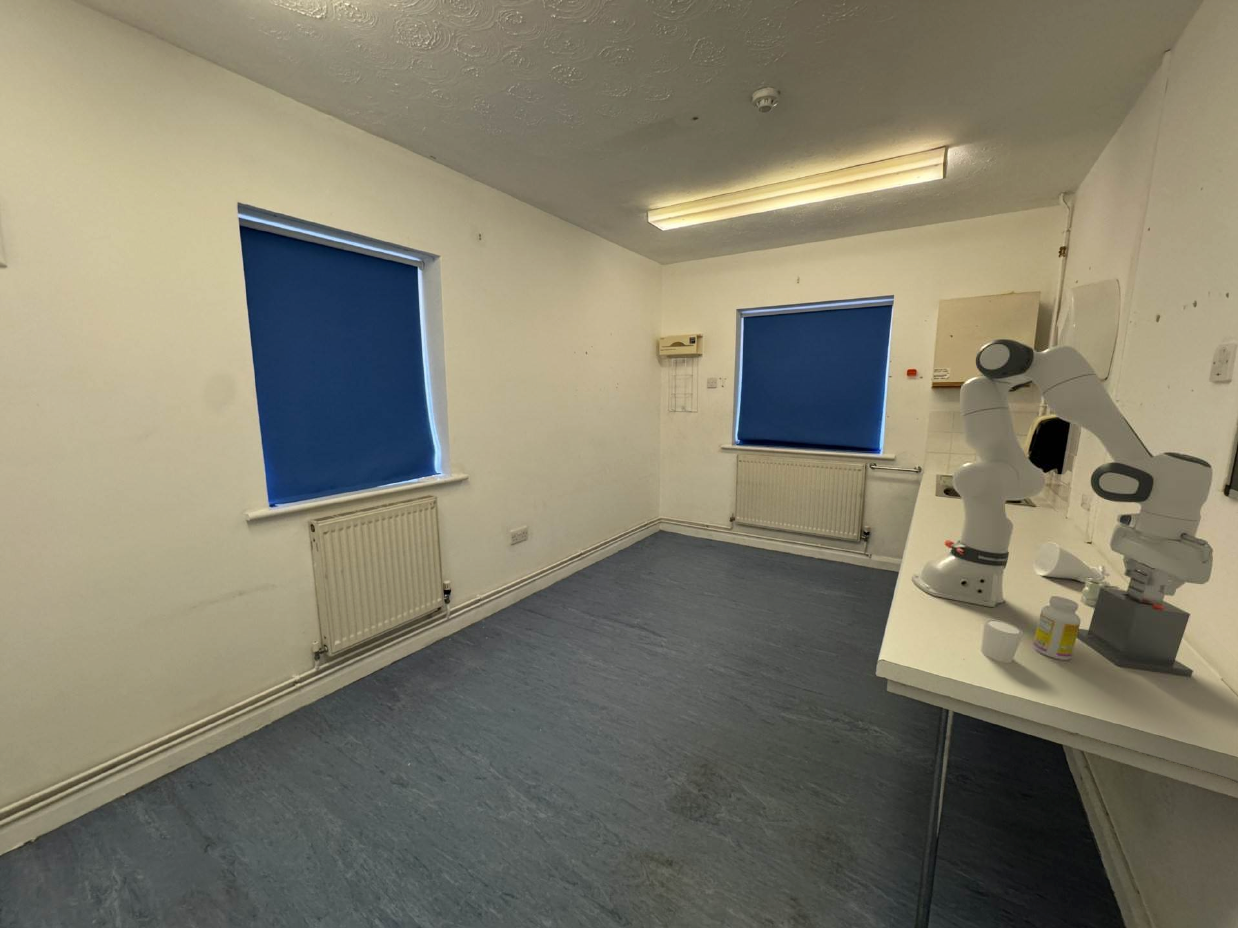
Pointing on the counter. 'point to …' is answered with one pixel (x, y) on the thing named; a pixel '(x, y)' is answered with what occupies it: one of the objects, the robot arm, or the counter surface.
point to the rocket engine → (1066, 565)
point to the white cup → (1000, 640)
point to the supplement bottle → (1057, 628)
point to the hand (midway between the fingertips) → (1147, 585)
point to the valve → (1091, 592)
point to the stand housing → (1137, 633)
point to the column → (1146, 584)
